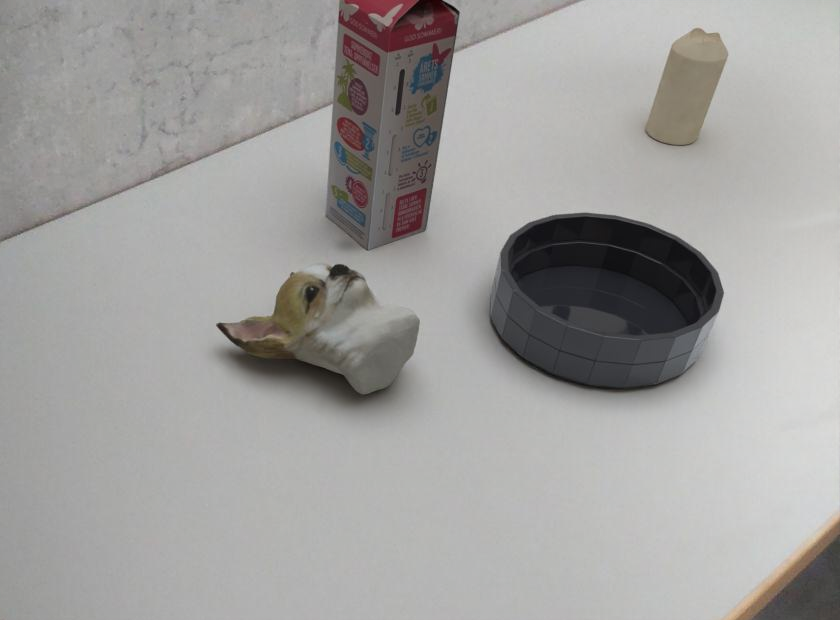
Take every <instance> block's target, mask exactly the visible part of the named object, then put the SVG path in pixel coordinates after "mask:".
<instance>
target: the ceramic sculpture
mask: <svg viewBox="0 0 840 620" xmlns="http://www.w3.org/2000/svg"><path fill="white" fill-rule="evenodd" d="M420 324H421V322H420V318H419V317H418V316H417V314H416V313H415V312H414V309H412V308H410V307H403V306H396V305H391V304H388V303H385V302H383V301H381V300H380V299H378V297H377V296H376V295H375V294H374V293H373V292H372V290H371V289H370V287H369V285H368V283H367V280H366V277H365V276H364V275H363V274H362V273H361V272H359V271H357V270H355V269H352V268H350V267H349V266H348V265H345V264H343V263H337V264H334V265H333V266H332V265H330V264H327V263H314V264H312V265H311V264H310V265H308V266H306V267H304V268H301V269H299V270H298V271H296V272H294V271H291V272H290V274H289V277H288V278H287V279H286V280H285V281H284V282H283V284H282V285H280V287H279V290H278V291H277V294H276V297H275V305H274V309H273V313H272V314H271V315H266V316H250V317H249V316H248V317H246V318H245V319H243V320H240V321H238V322H217V323H215V326H216V327H217V329H218V330H219V331H220V332H221V334H223V335H224V337H226V338H227V339H228V340H229V341H230V342H231V343H232V344H233V345H235V346H236V347H238V348H240V349H241V350H242V351H245V352H246V353H248V354H249V355H251V356H254V357H257V358H262V359H286V360H290V359H291V360H292V359H296V360H298V361H302V362H305V363H307V364H311V365H313V366H316V367H320V368H324V369H326V370H329V371H331V372H334V373H336V374H341V375H343V376H344V378H345V379H346V381H347V382H348V384H350V386H351V387H352V388H353V390H354V391H356V392H357V393H358V394H360V395H364V396H365V395H368V394H371V393H373V392H376V391H380V390H384V389H386V388H387V387H389V386H390V385H392V383H394V381H395V380H396V378H397V376H398V375H399V374H400V372H401V371H402V369H403V367H404V366H405V364H406V363H407V362H409V360H410V359H411V357H413V355H414V352H415V348H416V345H417V342H418V335H419V331H420Z"/></svg>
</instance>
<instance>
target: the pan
mask: <svg viewBox="0 0 840 620" xmlns="http://www.w3.org/2000/svg"><path fill="white" fill-rule="evenodd" d="M721 280H722V279H721V278H720V275H719V272H718V271H717V269H716V268H715V267H714V266H713V264H712V263H711V262H710V261H709V260H708V259H707V257H706V256H705V255H704V254H703V253H702V252H701V251H699V250H698V249H697V248H695V247H694V246H693V245H691V244H690V243H689V242H687V241H685V240H684V239H682V237H679V236H678V235H675V234H674V233H671V232H669V231H666V230H664V229H662V228H659V227H657V226H655V225H652V224H651V223H647V222H644V221H639V220H636V219H631V218H628V217H624V216H621V215H616V214H606V213H594V212H573V213H560V214H552V215H548V216H545V217H542V218H539V219H535V220H532V221H528V222H527V223H525V224H524V225H523V226H521V227H520V228H518V229H517V230H516V231H514V232H513V233H511V234H510V235H508V238H507V240H506V241H505V243H504V245H503V246H502V248H501V250H500V252H499V257H498V261H497V266H496V271H495V275H494V279H493V284H492V288H491V292H490V297H489V307H490V309H489V310H490V319H491V321H492V323H493V325H494V327H495V329H496V330H497V333H498V334H499V337H500V338H501V339H502V341H504V342H505V343H506V345H507V346H509V348H511V349H512V350H513V352H515V353H516V354H517V355H518V356H520V357H521V358H522V359H523V360H525V361H526V362H528V363H529V364H530V365H532V366H534V367H536V368H538V369H539V370H541V371H543V372H545V373H548V374H550V375H552V376H554V377H557V378H560V379H561V380H562V379H563V380H566V381H569V382H572V383H576V384H580V385H584V386H588V387H589V386H590V387H595V388H603V389H636V388H642V387H647V386H652V385H653V386H654V385H657V384H660V383H662V382H665V381H668V380H670V379H673V378H675V377H677V376H680V375H682V374H683V373H685V371H686V370H687V369H689V368H690V367H691V366H692V365H693V364H694V363H695V362H696V361H697V360H698V359H699V357H700V355H701V353H702V351H703V348H704V347H705V344H706V342H707V340H708V337H709V335H710V333H711V330H712V328H713V326H714V324H715V322H716V319H717V317H718V316H719V312H720V311H721V307H722V303H723V299H724V295H725V291H724V288H723V284H722V281H721Z"/></svg>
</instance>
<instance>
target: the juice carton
mask: <svg viewBox="0 0 840 620" xmlns="http://www.w3.org/2000/svg"><path fill="white" fill-rule="evenodd" d="M460 13H461V12H460V10H459V9H458V8H457V7H456V6H454V5H452V4H451V3H449V2H448V1H445V0H339V3H338V17H337V35H336V46H335V47H336V49H335V63H334V76H333V77H334V79H333V92H332V93H333V95H332V109H331V123H330V124H331V125H330V137H329V138H330V139H329V155H328V156H329V157H328V171H327V185H326V200H325V217H326V218H328V219H329V220H330V221H332V222H333V223H334V224H335V225H336V226H338V228H340V229H341V230H342V231H344V233H345V234H347V235H348V236H349V237H350V238H352V239H353V240H354V241H355V242H357V243H358V244H359V245H360V246H362V247H363V248H364V249H365V250H366V251H370V250H373V249H375V248H379V247H381V246H384V245H387V244H391V243H393V242H396V241H399V240H401V239H405V238H408V237H411V236H413V235H417V234H419V233H422V232H424V231H426V230H427V227H428V222H429V221H428V220H429V214H430V207H431V201H432V195H433V189H434V181H435V177H436V176H435V175H436V170H437V163H438V157H439V150H440V143H441V137H442V130H443V125H444V124H443V123H444V118H445V113H446V112H445V111H446V104H447V99H448V98H447V97H448V91H449V86H450V85H449V84H450V79H451V72H452V67H453V59H454V53H455V46H456V40H457V33H458V27H459V21H460V15H461V14H460Z"/></svg>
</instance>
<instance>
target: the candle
mask: <svg viewBox="0 0 840 620" xmlns="http://www.w3.org/2000/svg"><path fill="white" fill-rule="evenodd" d="M728 57H729V51H728V49H727V47H726V45H725V43H724V41H723V39H722V38H721V34H720V32H706V31H705V30H704V29H702V28H701V27H695V28H692V30H691V31H689V32H687V33H685V34H684V35H682V36H681V37H679V38H677V39H676V40H675V41H673V42H672V44H671V47H670V50H669V52H668V55H667V59H666V62H665V65H664V68H663V70H662V71H663V72H662V75H661V78H660V80H659V84H658V87H657V90H656V93H655V96H654V99H653V103H652V105H651V108H650V112H649V114H648V117H647V122H646V125H645V131H646V133H647V135H649V136H650V137H651V138H653V139H654V140H656V141H658V142H661V143H663V144H667V145H674V146H686V145H690V144H693V143H695V142H696V141H697V139H698V138H699V136H700V133H701V131H702V128H703V125H704V123H705V120H706V117H707V115H708V112H709V109H710V106H711V104H712V101H713V98H714V95H715V92H716V90H717V87H718V85H719V82H720V79H721V76H722V73H723V71H724V68H725V66H726V63H727V60H728Z"/></svg>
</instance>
